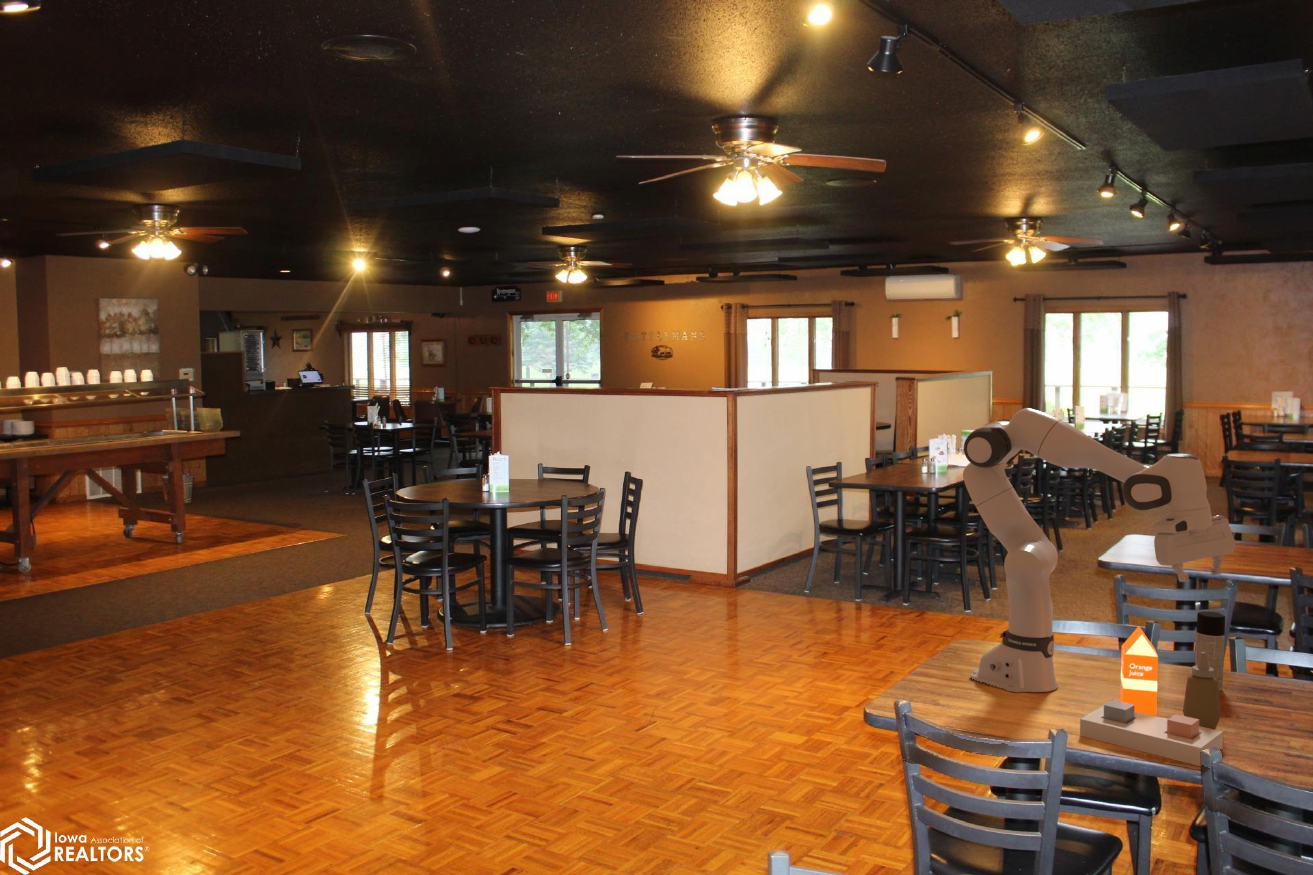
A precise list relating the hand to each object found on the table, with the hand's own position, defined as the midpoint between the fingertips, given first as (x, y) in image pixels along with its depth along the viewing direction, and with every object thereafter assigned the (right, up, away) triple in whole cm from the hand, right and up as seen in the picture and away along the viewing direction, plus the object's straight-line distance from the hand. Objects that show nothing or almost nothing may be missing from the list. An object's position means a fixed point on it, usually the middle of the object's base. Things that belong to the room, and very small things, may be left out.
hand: (1200, 577), depth 247 cm
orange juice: (-9, -34, +12) cm, 38 cm away
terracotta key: (-12, -33, -16) cm, 39 cm away
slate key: (-22, -33, -6) cm, 40 cm away
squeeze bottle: (-1, -35, -2) cm, 35 cm away
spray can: (+16, -33, +27) cm, 46 cm away
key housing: (-17, -36, -11) cm, 41 cm away
